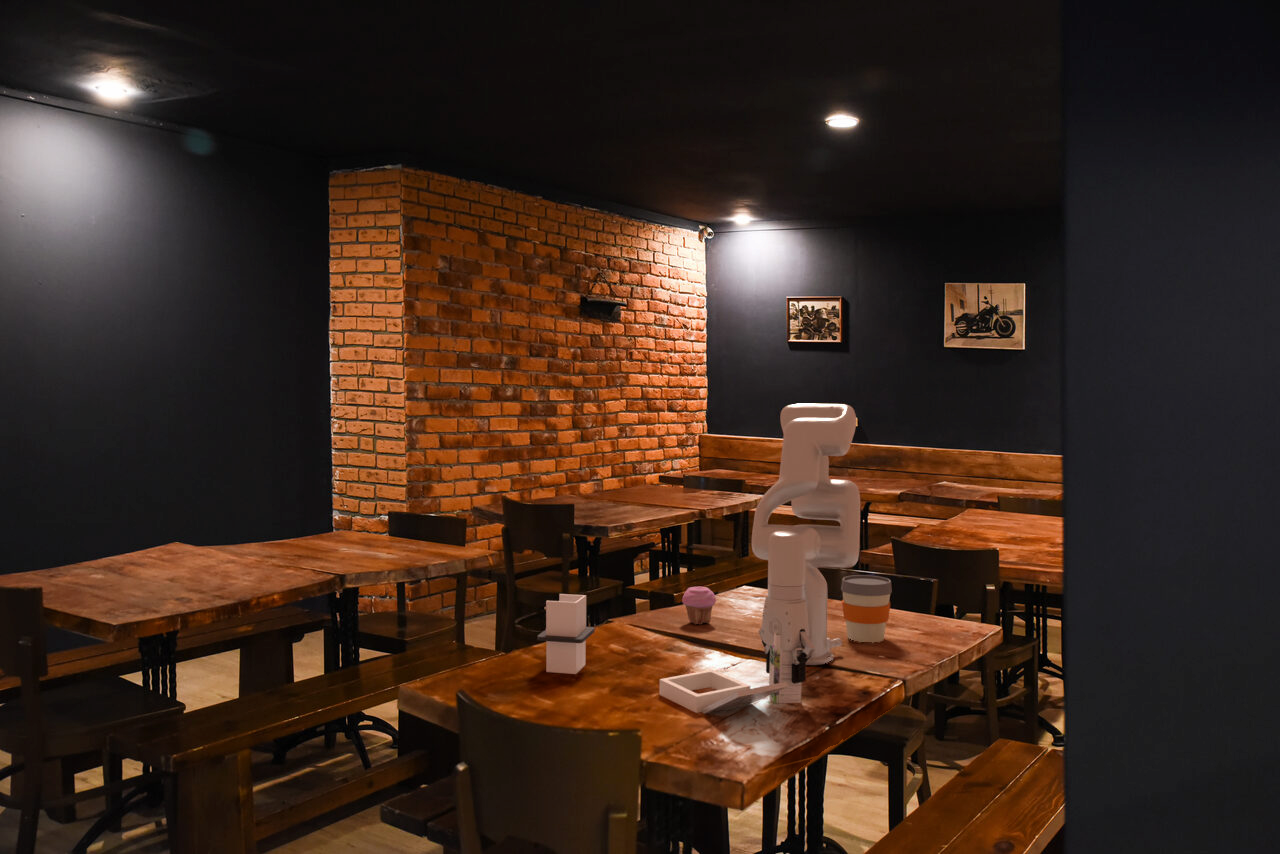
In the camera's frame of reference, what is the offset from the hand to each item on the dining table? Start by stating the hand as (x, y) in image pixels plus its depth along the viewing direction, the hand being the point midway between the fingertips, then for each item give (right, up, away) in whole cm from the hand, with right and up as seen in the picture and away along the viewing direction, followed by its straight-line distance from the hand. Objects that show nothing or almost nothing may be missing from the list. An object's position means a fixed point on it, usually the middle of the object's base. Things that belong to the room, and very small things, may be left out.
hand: (785, 676), depth 210 cm
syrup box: (0, -5, 0) cm, 5 cm away
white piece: (-17, -5, 0) cm, 17 cm away
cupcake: (-14, -2, +64) cm, 66 cm away
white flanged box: (-47, -4, +22) cm, 52 cm away
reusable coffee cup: (+27, -2, +49) cm, 56 cm away
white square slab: (-9, -2, -11) cm, 15 cm away
